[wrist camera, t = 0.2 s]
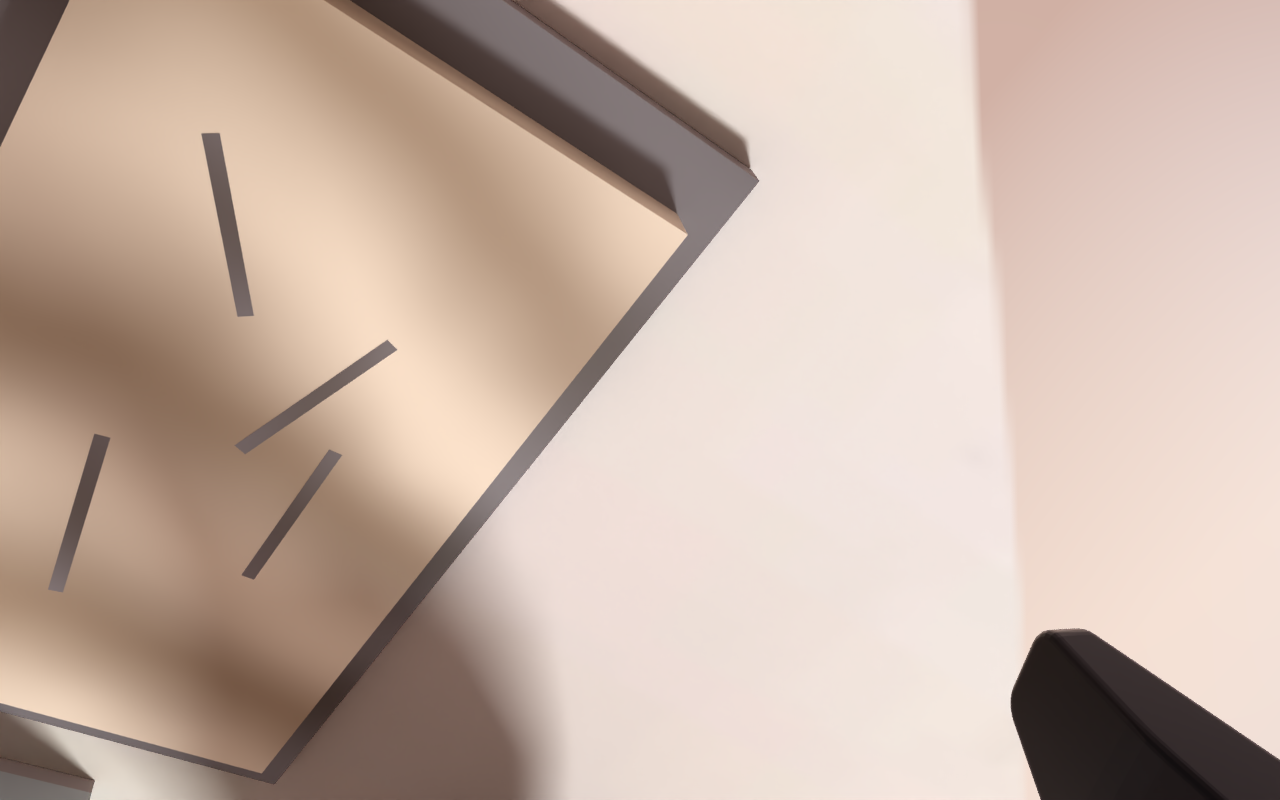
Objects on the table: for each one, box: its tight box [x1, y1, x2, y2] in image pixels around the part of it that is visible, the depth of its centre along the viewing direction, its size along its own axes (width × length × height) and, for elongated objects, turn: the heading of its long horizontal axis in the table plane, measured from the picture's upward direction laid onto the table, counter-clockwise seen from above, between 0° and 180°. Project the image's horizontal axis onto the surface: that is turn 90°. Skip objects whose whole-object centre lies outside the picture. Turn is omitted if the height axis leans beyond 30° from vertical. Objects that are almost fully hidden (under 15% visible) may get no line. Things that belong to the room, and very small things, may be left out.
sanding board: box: [0, 0, 759, 784], centre depth 22 cm, size 21×13×2 cm, turn 142°
